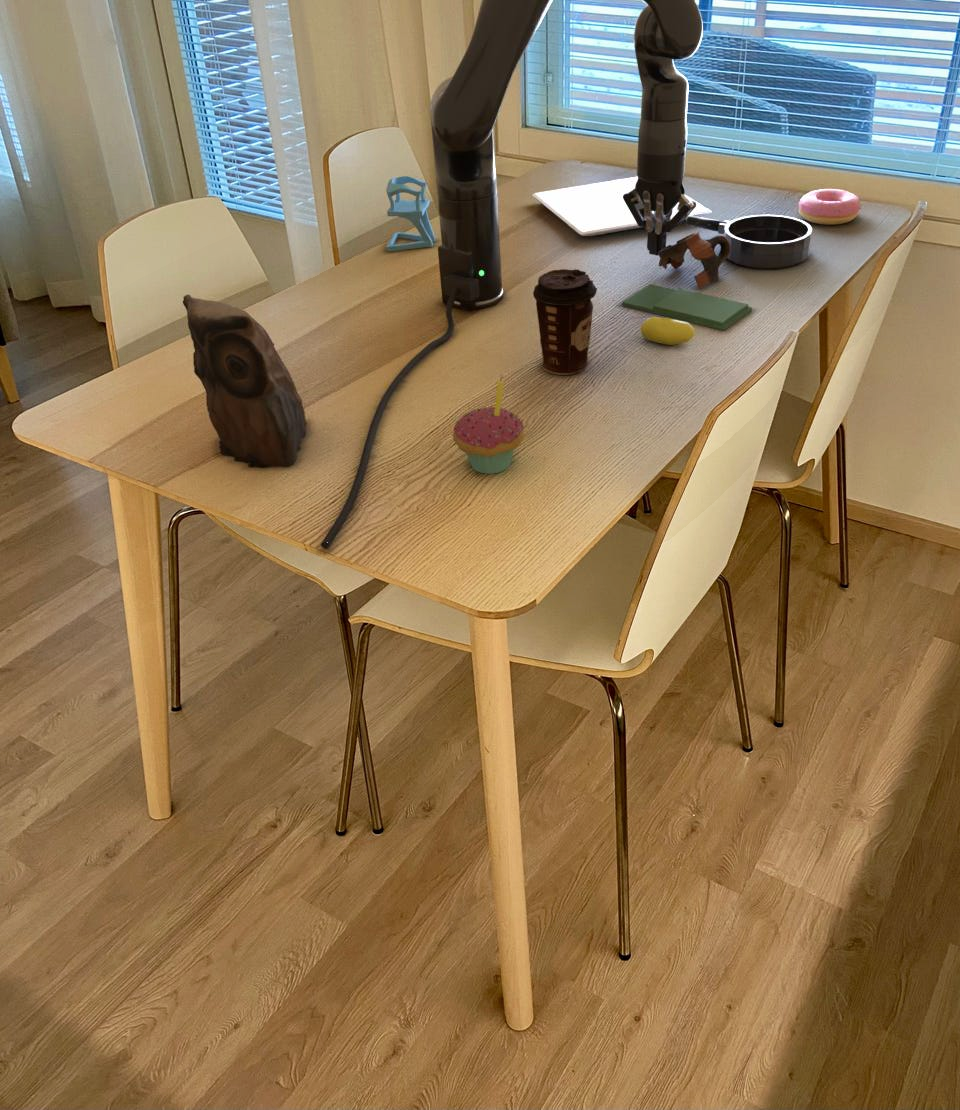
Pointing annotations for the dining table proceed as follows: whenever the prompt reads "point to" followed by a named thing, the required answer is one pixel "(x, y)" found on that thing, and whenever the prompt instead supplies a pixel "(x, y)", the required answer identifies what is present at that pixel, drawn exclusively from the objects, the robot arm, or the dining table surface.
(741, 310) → the cloth
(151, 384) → the dining table surface
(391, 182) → the chair
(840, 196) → the doughnut
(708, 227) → the pan handle
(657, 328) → the lemon
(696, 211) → the white rectangular board
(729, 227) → the pan
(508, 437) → the cupcake
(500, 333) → the dining table surface
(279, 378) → the owl
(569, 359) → the coffee cup
